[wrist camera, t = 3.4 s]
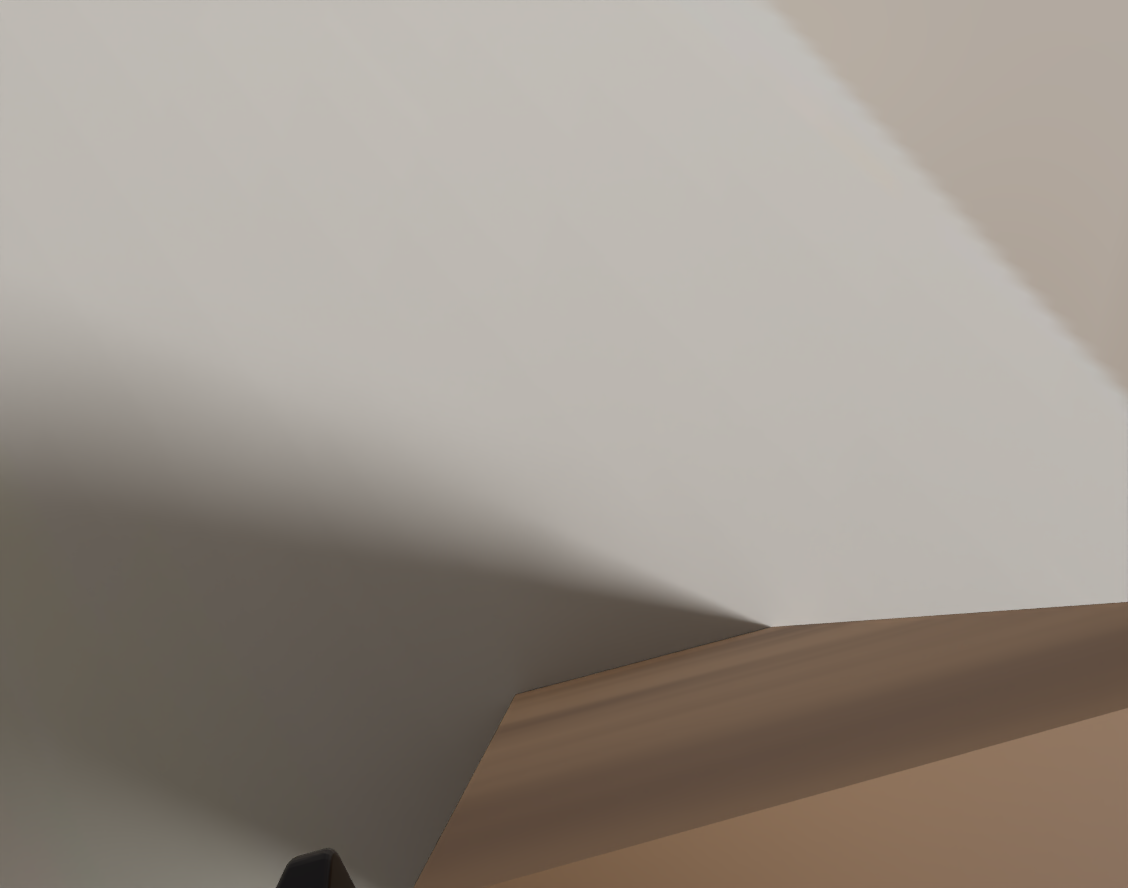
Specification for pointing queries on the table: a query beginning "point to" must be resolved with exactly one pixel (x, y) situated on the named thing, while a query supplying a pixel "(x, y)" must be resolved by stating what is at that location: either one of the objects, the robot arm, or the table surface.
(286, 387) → the table surface
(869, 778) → the walnut block
